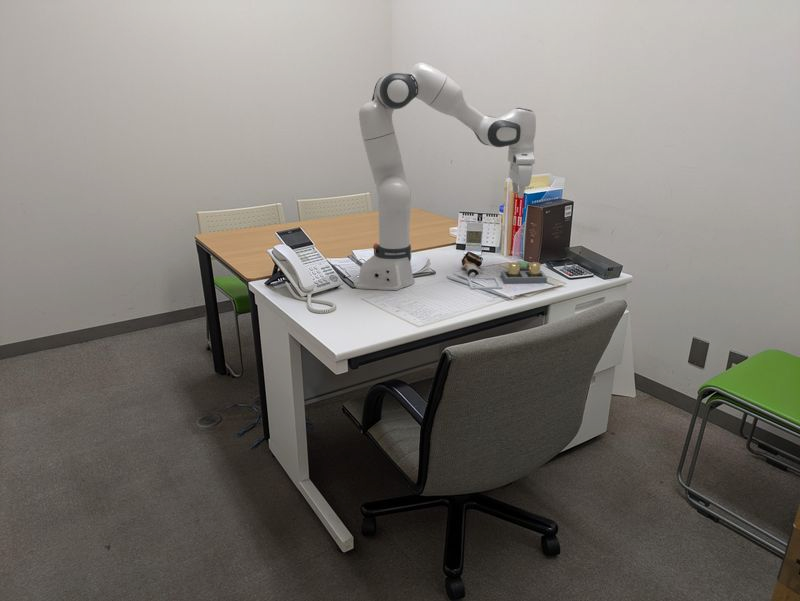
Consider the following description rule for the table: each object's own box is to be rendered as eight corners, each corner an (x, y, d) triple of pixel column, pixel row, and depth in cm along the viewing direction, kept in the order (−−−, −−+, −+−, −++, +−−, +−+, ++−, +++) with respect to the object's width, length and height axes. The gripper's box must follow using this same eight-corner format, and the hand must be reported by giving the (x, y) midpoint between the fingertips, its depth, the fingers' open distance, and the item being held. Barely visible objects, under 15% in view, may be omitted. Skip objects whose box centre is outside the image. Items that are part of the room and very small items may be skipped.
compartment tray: (503, 287, 197) (504, 278, 195) (499, 278, 205) (499, 270, 204) (548, 286, 197) (548, 277, 195) (541, 278, 205) (542, 270, 204)
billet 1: (508, 281, 198) (509, 265, 196) (506, 278, 202) (507, 262, 200) (519, 281, 198) (520, 265, 196) (517, 277, 202) (518, 262, 200)
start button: (517, 274, 206) (517, 263, 204) (515, 270, 210) (515, 260, 208) (527, 273, 206) (528, 263, 204) (525, 270, 210) (526, 260, 208)
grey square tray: (470, 292, 192) (470, 287, 191) (466, 282, 202) (467, 277, 201) (502, 292, 192) (502, 287, 191) (496, 281, 202) (496, 277, 201)
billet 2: (529, 281, 198) (530, 265, 196) (526, 277, 202) (528, 262, 200) (540, 281, 198) (541, 265, 196) (537, 277, 202) (539, 262, 200)
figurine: (468, 267, 199) (465, 246, 211) (456, 283, 203) (454, 262, 216) (489, 277, 201) (485, 256, 214) (477, 293, 205) (474, 272, 218)
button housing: (513, 278, 205) (514, 268, 203) (510, 272, 211) (510, 262, 210) (532, 278, 205) (533, 268, 203) (528, 272, 211) (529, 262, 210)
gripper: (506, 153, 204) (504, 190, 209) (517, 159, 185) (514, 200, 190) (523, 153, 204) (520, 190, 209) (536, 159, 185) (532, 200, 190)
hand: (517, 195), depth 199 cm, fingers open, 8 cm apart
